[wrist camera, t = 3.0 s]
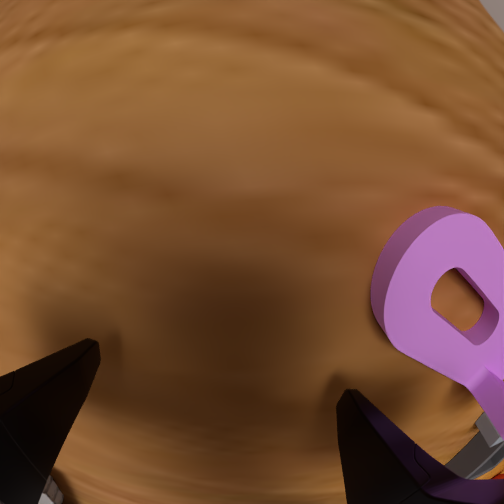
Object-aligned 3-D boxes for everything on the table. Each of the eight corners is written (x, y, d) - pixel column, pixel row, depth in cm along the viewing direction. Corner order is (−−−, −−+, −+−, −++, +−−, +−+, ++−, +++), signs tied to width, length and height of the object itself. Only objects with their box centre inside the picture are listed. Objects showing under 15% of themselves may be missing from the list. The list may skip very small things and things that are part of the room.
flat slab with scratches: (-69, 347, 14) (-90, 368, 9) (62, 460, 17) (45, 498, 12) (6, 470, 28) (-2, 484, 22) (92, 520, 31) (87, 537, 25)
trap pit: (483, 452, 16) (492, 469, 13) (439, 469, 16) (448, 490, 13) (526, 403, 14) (538, 420, 11) (491, 417, 13) (505, 439, 10)
